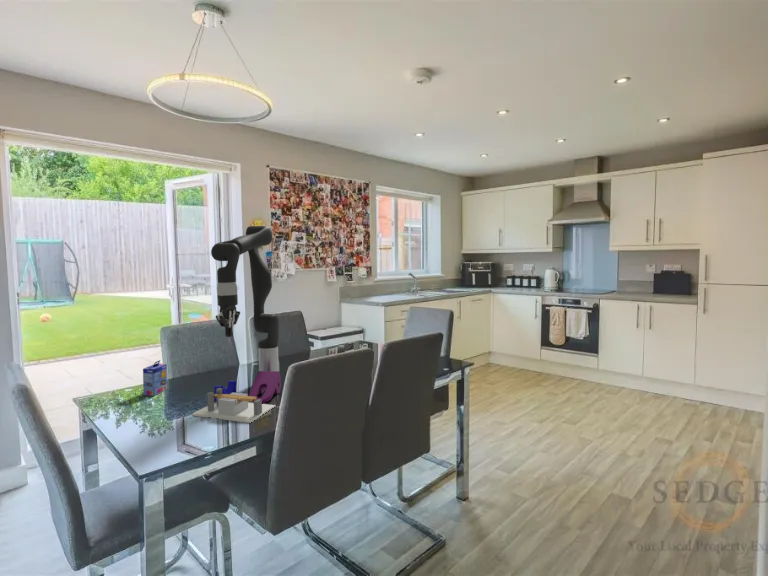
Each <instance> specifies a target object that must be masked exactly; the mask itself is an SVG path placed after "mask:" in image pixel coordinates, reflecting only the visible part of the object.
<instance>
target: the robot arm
mask: <svg viewBox="0 0 768 576" xmlns="http://www.w3.org/2000/svg"><path fill="white" fill-rule="evenodd" d="M272 241H273V231H272V229H271V228H270V227H269V226H267V225H249V226H247V228H246V229H245V235H240V236H237V237H234V238H233V239H230V240H225V241H221V242H217V243H214V245H213V246H212V247H211V250H210V254H211V255H210V256H211V257H212V258H213V259H214V260H215V261H217V262H227V263H226V265H225V266H222V267H219V268H217V270H216V277H217V278H216V279H217V280H216V281H217V284H216V286H217V287H216V294H217V295H216V296H217V305H218V306H219V314H218V315H215V320H217V322H218V323H219V325H220V327H221V328H222V327H223V328H224V329H225V331H224V334H225V337H227V338H230V337H233V335H234V331H233V329H234V328H233V327H234V326H235V325H237V324H238V320H239V318H240V315H241V311H240V310H239V311H238V310H237V306H238V303H239V302H238V301H239V300H238V285H237V269H238V263H239V260H240V256H241V255H243V254H245V253H247V252H248V259H249V265H250V266H249V267H250V279H251V290H252V300H253V301H252V302H253V326H254V330H255V332H256V333H260V334H267V336H266V338H264V339H261V340H259V341H258V344H257V349H258V372H259V371H279V372H280V361H279V340H280V337H279V336H280V319H279V316H278V314H275V313H265V303H266V300H267V298H268V297H269V294H270V293H271V291H272V287H273V281H272V273H271V270H270V269H269V267H268V266H267V264H266V263H265V261H264V260H263V259H262V257H261V254H260V251H259V247H262V246H263V247H264V246H265V247H266V246H268V245H270V244H272Z"/></svg>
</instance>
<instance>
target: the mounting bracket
mask: <svg viewBox="0 0 768 576" xmlns="http://www.w3.org/2000/svg"><path fill="white" fill-rule="evenodd" d="M281 389H282V377H281V371H280V370H279V371H259V370H258V372H257V375H256V377H255V379H254V382H253V384H252V386H251V389H250V391H249V394H248V396H253V397H256V400H257V399H262V403H263V404H266V403H268V402H270V400H272V398H273V396H274V395H279V394H280V392H281ZM264 391H265V392H264ZM263 392H264V393H263ZM262 393H263V394H262ZM278 393H279V394H278ZM259 395H262V396H261V397H259ZM256 400H254V401H256ZM254 401H253V402H252V403H254ZM265 402H266V403H265Z"/></svg>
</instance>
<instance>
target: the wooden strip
mask: <svg viewBox="0 0 768 576" xmlns="http://www.w3.org/2000/svg"><path fill="white" fill-rule="evenodd" d="M214 398H217V399H221V398H227V399H236V400H239V401H248V402H251V403H253V401H254V400H256V397H253V396H249V395H248V396H241V395H230V394H219V393H216V394H214Z"/></svg>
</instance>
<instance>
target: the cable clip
mask: <svg viewBox="0 0 768 576" xmlns="http://www.w3.org/2000/svg"><path fill="white" fill-rule="evenodd" d="M217 388H221V389H222V394H232V393H237V380H228V384H227V387H224V385H214V389H213V393H214V394H216V389H217ZM214 402H217V399H216V398H214Z"/></svg>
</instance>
